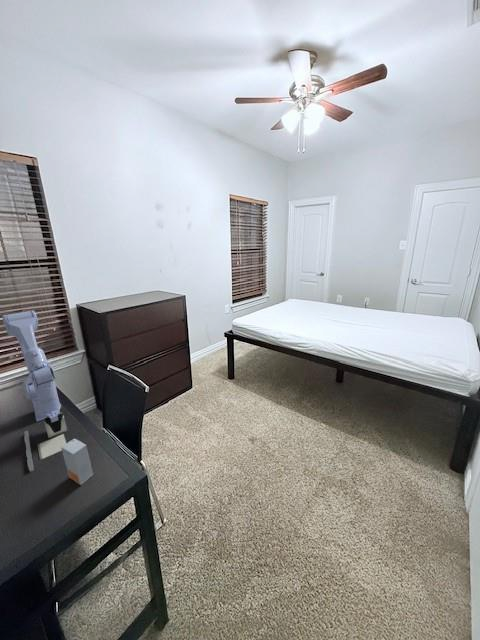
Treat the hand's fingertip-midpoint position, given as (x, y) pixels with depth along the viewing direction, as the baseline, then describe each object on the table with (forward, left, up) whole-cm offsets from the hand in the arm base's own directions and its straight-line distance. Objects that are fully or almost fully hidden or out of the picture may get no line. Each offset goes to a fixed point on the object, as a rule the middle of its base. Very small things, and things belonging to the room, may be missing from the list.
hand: (56, 427), depth 101 cm
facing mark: (+8, -3, -2) cm, 9 cm away
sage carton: (0, 0, -2) cm, 2 cm away
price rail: (+5, -9, -2) cm, 10 cm away
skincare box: (+29, +2, -2) cm, 29 cm away
